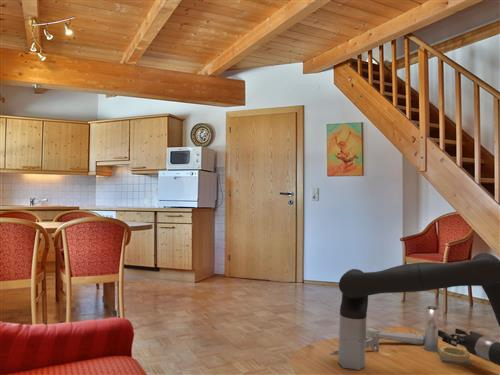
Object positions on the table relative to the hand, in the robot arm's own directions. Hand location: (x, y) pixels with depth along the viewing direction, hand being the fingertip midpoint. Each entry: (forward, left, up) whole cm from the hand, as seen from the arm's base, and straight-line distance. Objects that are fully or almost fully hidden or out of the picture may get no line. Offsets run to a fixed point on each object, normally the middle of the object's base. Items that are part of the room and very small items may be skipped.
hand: (447, 331), depth 156 cm
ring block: (-1, -2, -9) cm, 10 cm away
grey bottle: (+7, +5, -10) cm, 12 cm away
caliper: (-8, +34, -10) cm, 36 cm away
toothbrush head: (+8, +19, -10) cm, 22 cm away
